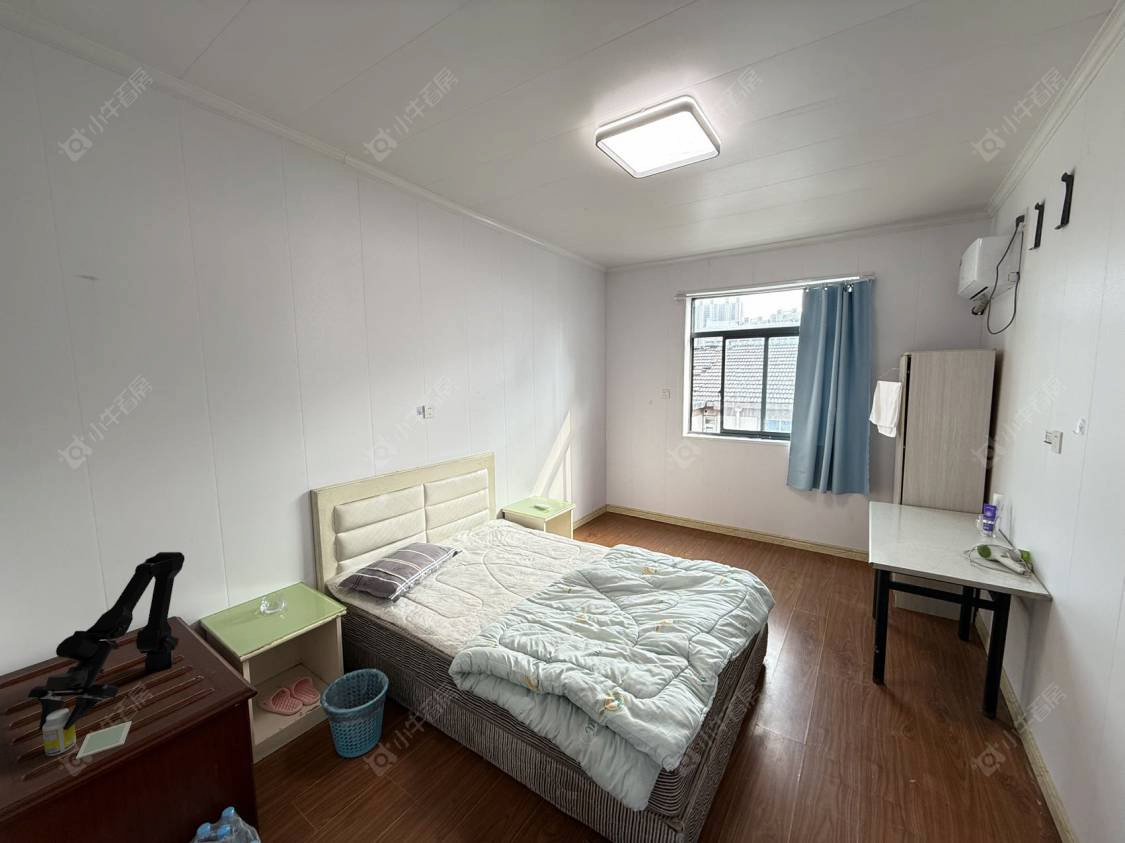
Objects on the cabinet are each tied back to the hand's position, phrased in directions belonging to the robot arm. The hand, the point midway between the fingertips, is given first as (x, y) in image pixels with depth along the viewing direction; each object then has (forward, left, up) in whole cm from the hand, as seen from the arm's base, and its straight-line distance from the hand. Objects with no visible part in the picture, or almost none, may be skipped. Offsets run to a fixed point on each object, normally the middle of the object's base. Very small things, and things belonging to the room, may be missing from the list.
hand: (53, 730), depth 116 cm
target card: (-10, +1, -7) cm, 12 cm away
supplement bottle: (-1, -1, -7) cm, 7 cm away
